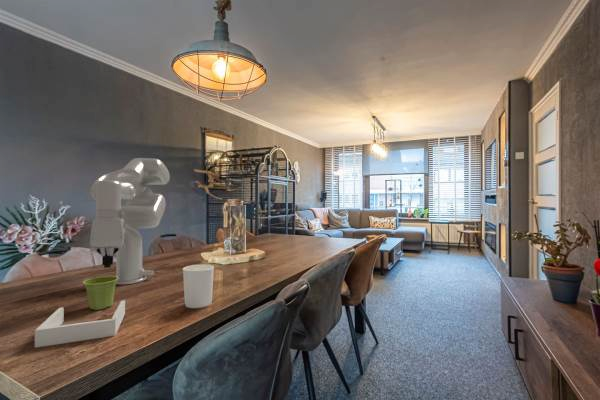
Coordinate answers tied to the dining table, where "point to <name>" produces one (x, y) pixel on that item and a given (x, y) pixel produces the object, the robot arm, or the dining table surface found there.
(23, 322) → the dining table surface
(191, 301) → the candle holder
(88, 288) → the plant pot
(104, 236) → the robot arm
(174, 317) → the dining table surface
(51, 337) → the box
